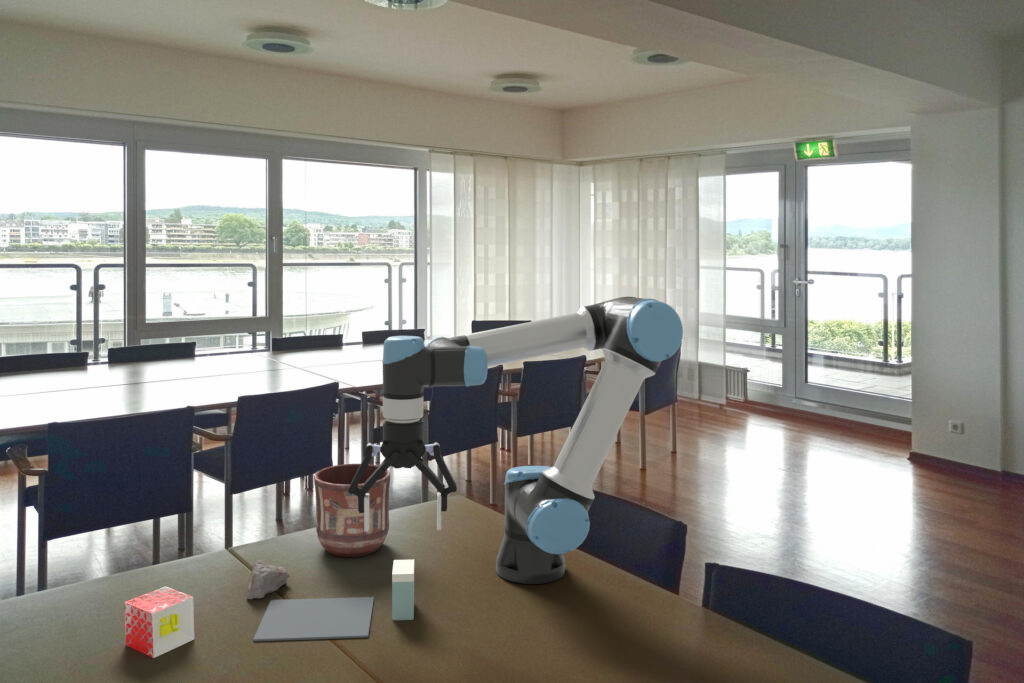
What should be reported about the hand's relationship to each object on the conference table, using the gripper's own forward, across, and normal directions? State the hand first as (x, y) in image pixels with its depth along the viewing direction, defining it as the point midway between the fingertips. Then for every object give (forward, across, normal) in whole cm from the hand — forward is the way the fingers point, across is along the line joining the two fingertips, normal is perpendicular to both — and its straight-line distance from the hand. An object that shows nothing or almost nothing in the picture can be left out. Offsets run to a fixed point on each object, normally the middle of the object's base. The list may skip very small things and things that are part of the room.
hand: (403, 528), depth 150 cm
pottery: (+17, +13, -34) cm, 39 cm away
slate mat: (+16, +16, +2) cm, 23 cm away
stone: (+17, +28, -12) cm, 35 cm away
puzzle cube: (+17, +42, +9) cm, 46 cm away
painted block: (+17, 0, 0) cm, 17 cm away
